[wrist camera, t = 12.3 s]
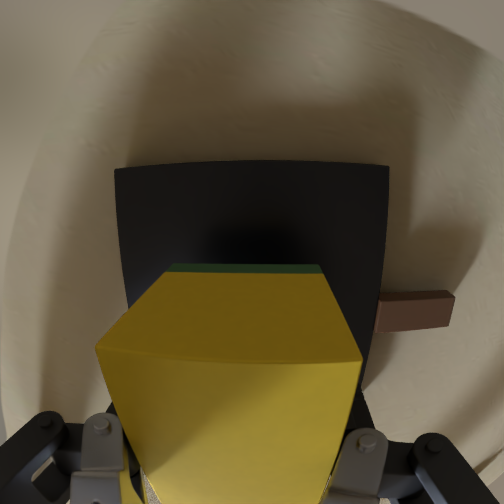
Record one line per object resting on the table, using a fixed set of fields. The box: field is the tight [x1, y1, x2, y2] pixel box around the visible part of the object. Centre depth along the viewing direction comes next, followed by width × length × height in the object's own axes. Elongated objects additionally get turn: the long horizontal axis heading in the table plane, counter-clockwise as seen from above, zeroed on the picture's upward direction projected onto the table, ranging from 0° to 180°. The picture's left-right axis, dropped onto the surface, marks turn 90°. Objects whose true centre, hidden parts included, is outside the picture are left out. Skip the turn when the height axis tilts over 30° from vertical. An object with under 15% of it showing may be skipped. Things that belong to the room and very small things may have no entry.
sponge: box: [95, 263, 363, 504], centre depth 9 cm, size 8×6×6 cm
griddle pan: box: [114, 160, 455, 387], centre depth 16 cm, size 16×19×2 cm
